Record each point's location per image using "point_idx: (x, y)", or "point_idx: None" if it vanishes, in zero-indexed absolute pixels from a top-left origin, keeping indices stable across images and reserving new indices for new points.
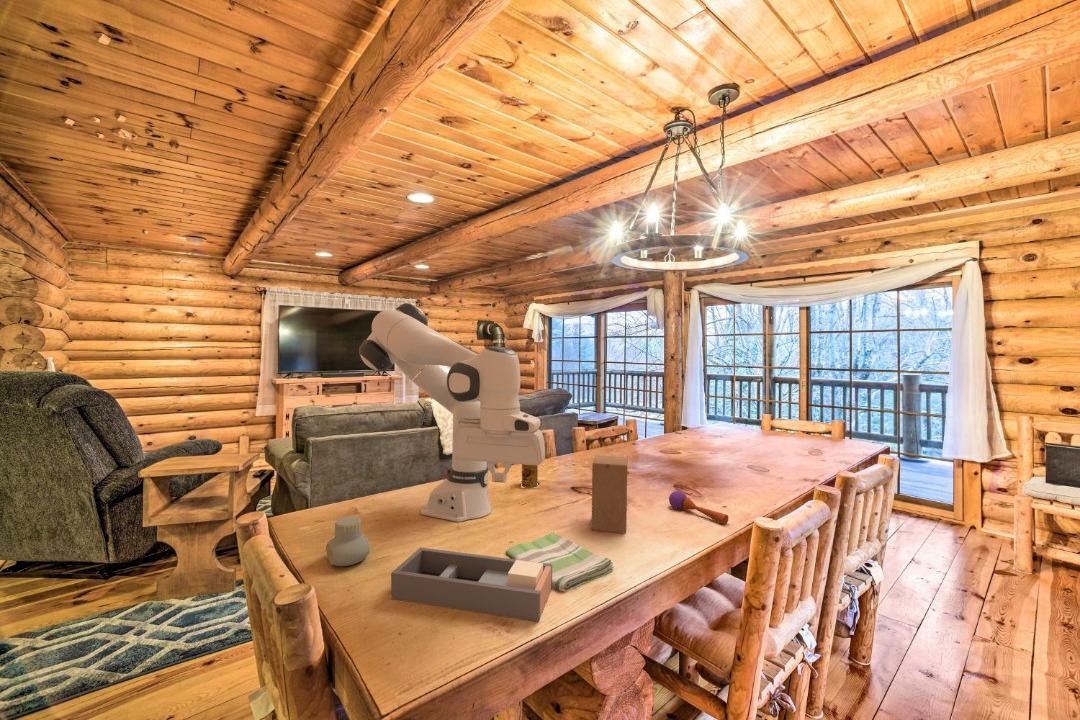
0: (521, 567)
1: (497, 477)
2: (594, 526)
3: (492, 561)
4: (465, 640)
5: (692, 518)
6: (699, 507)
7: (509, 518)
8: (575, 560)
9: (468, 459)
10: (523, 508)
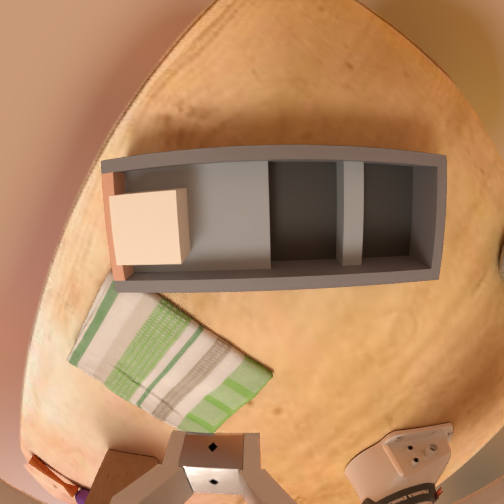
0: (154, 229)
1: (217, 454)
2: (149, 461)
3: (257, 276)
4: (231, 72)
5: (64, 472)
6: (58, 482)
7: (307, 467)
8: (127, 366)
9: (476, 497)
10: (293, 491)
